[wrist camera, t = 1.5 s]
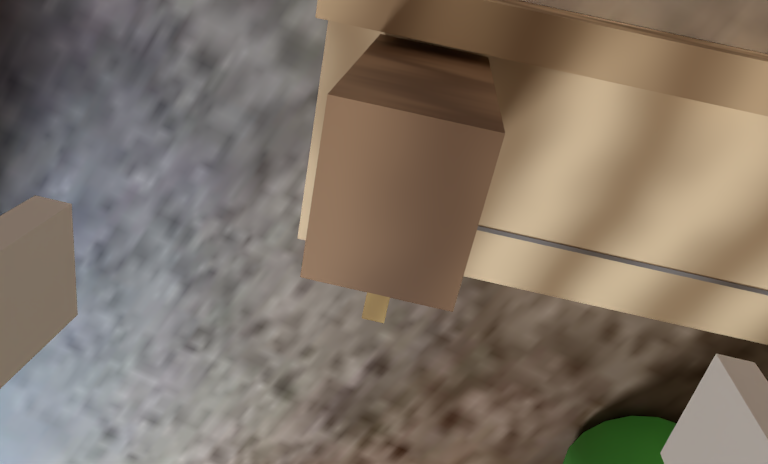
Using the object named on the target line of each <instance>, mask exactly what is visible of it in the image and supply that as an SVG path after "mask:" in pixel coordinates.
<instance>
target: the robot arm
mask: <svg viewBox="0 0 768 464" xmlns="http://www.w3.org/2000/svg"><path fill="white" fill-rule="evenodd" d="M77 315H78V314H77V296H76V277H75V259H74V240H73V222H72V204H70V203H65V202H61V201H57V200H53V199H48V198H44V197H40V196H33V197H32V198H30V199H28V200H27V201H25V202H23V203H22V204H20V205H18V206H16V207H15V208H13V209H11V210H10V211H8V212H6V213H4V214H3V215H1V216H0V388H1V387H2V386H4V385H5V384H6V383H7V382H8V381H9V380H10V379H11V378H12V377H13V376H14V375H15V374H16V373H17V372H18V371H19V370H20V369H21V368H22V367H23V366H24V365H25V364H27V363H28V362H29V361H30V360H31V359H32V358H33V357H34V356H35V355H36V354H37V353H38V352H39V351H40V350H41V349H42V348H43V347H44V346H45V345H46V344H47V343H48V342H50V341H51V340H52V339H53V338H54V337H55V336H56V335H57V334H58V333H59V332H60V331H61V330H62V329H63V328H64V327H65V326H66V325H67V324H68V323H69V322H70V321H71V320H73V319H74V318H75V317H76V316H77ZM660 454H661V457H662V459H663V462H664V464H768V381H767V380H766V378H765V377H764V375H763V374H762V372H761V371H760V369H759V368H758V366H757V365H756V363H755V362H751V361H746V360H742V359H738V358H733V357H729V356H725V355H720V354H715V356H714V358H713V360H712V362H711V363H710V365H709V367H708V369H707V370H706V372H705V374H704V376H703V378H702V379H701V381H700V383H699V385H698V386H697V388H696V390H695V392H694V394H693V395H692V397H691V399H690V401H689V403H688V404H687V406H686V408H685V410H684V411H683V413H682V415H681V417H680V419H679V420H678V422H677V424H676V426H675V427H674V429H673V431H672V433H671V435H670V436H669V438H668V440H667V442H666V444H665V445H664V447H663V449H662V451H661V452H660Z"/></svg>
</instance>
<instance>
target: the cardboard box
mask: <svg viewBox="0 0 768 464" xmlns="http://www.w3.org/2000/svg"><path fill="white" fill-rule="evenodd" d="M504 136H505V130H504V125H503V121H502V117H501V112H500V108H499V103H498V99H497V94H496V90H495V85H494V81H493V76H492V72H491V68H490V63H489V59H488V57H484V56H480V55H475V54H471V53H466V52H462V51H457V50H452V49H448V48H443V47H439V46H434V45H430V44H425V43H420V42H416V41H411V40H407V39H402V38H398V37H393V36H388V35H384V34H380V35H379V36H378V37H377V38H376V40H375V41H374V42H373V43H372V44H371V45H370V46H369V47H368V49H367V50H366V51H365V52H364V53H363V54H362V55H361V57H360V58H359V59H358V60H357V61H356V62H355V63H354V65H353V66H352V67H351V68H350V69H349V70H348V71H347V72H346V74H345V75H344V76H343V77H342V78H341V79H340V80H339V82H338V83H337V84H336V85H335V86H334V87H333V88H332V90H331V91H330V92H329V93H328V94H327V101H326V107H325V114H324V121H323V127H322V134H321V141H320V148H319V154H318V161H317V168H316V175H315V181H314V188H313V195H312V201H311V208H310V215H309V222H308V228H307V235H306V242H305V249H304V255H303V262H302V269H301V275H300V277H302V278H306V279H311V280H315V281H320V282H324V283H328V284H333V285H337V286H341V287H346V288H350V289H355V290H359V291H363V292H367V295H366V300H365V305H364V310H363V314H362V318H363V319H367V320H372V321H376V322H381V323H384V321H385V316H386V312H387V308H388V303H389V299H390V298H394V299H399V300H403V301H407V302H412V303H416V304H420V305H425V306H429V307H434V308H438V309H442V310H447V311H451V312H453V310H454V306H455V303H456V299H457V296H458V293H459V289H460V286H461V282H462V279H463V276H464V272H465V269H466V265H467V262H468V259H469V255H470V252H471V248H472V245H473V242H474V238H475V235H476V231H477V228H478V225H479V221H480V218H481V214H482V211H483V208H484V204H485V201H486V197H487V194H488V191H489V187H490V184H491V180H492V177H493V174H494V170H495V167H496V163H497V160H498V157H499V153H500V150H501V146H502V143H503V140H504Z"/></svg>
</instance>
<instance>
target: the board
mask: <svg viewBox="0 0 768 464" xmlns="http://www.w3.org/2000/svg"><path fill="white" fill-rule="evenodd" d="M316 18H320V19H325V20H328V27H327V34H326V41H325V48H324V55H323V62H322V69H321V77H320V84H319V91H318V98H317V105H316V112H315V119H314V126H313V133H312V140H311V147H310V154H309V161H308V169H307V176H306V183H305V190H304V197H303V204H302V211H301V218H300V225H299V232H298V239H302V240H306V235H307V228H308V222H309V215H310V208H311V201H312V195H313V188H314V181H315V175H316V168H317V161H318V154H319V148H320V141H321V134H322V127H323V121H324V114H325V107H326V101H327V94H328V93H329V92H330V91H331V90H332V88H333V87H334V86H335V85H336V84H337V83H338V82H339V80H340V79H341V78H342V77H343V76H344V75H345V74H346V72H347V71H348V70H349V69H350V68H351V67H352V66H353V65H354V63H355V62H356V61H357V60H358V59H359V58H360V57H361V55H362V54H363V53H364V52H365V51H366V50H367V49H368V47H369V46H370V45H371V44H372V43H373V42H374V41H375V40H376V38H377V37H378V36H379V35H380V34H384V35H388V36H393V37H398V38H402V39H407V40H411V41H416V42H420V43H425V44H430V45H434V46H439V47H443V48H448V49H452V50H457V51H462V52H466V53H471V54H475V55H480V56H484V57H488V59H489V63H490V68H491V72H492V76H493V81H494V85H495V90H496V94H497V99H498V103H499V108H500V112H501V117H502V121H503V125H504V130H505V136H504V140H503V143H502V146H501V150H500V153H499V157H498V160H497V163H496V167H495V170H494V174H493V177H492V180H491V184H490V187H489V191H488V194H487V197H486V201H485V204H484V208H483V211H482V214H481V218H480V221H479V225H478V228H477V231H476V235H475V238H474V242H473V245H472V248H471V252H470V255H469V259H468V262H467V265H466V269H465V272H464V276H465V277H470V278H474V279H479V280H483V281H488V282H492V283H496V284H501V285H505V286H510V287H514V288H518V289H523V290H527V291H532V292H536V293H541V294H545V295H549V296H554V297H558V298H563V299H567V300H571V301H576V302H580V303H585V304H589V305H594V306H598V307H602V308H607V309H611V310H616V311H620V312H624V313H629V314H633V315H638V316H642V317H646V318H651V319H655V320H660V321H664V322H669V323H673V324H677V325H682V326H686V327H691V328H695V329H699V330H704V331H708V332H713V333H717V334H722V335H726V336H730V337H735V338H739V339H744V340H748V341H752V342H757V343H761V344H766V345H768V54H764V53H760V52H755V51H750V50H746V49H741V48H737V47H732V46H727V45H723V44H718V43H713V42H709V41H704V40H700V39H695V38H690V37H686V36H681V35H676V34H672V33H667V32H663V31H658V30H653V29H649V28H644V27H640V26H635V25H630V24H626V23H621V22H616V21H612V20H607V19H603V18H598V17H593V16H589V15H584V14H580V13H575V12H570V11H566V10H561V9H556V8H552V7H547V6H543V5H538V4H533V3H529V2H524V1H519V0H318V2H317V10H316Z"/></svg>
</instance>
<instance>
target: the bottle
mask: <svg viewBox="0 0 768 464" xmlns="http://www.w3.org/2000/svg"><path fill="white" fill-rule="evenodd" d="M676 424H677V423H674V422H671V421H668V420H665V419H662V418H659V417H645V416H628V417H623V418H618V419H613V420H609V421H605V422H603V423H601V424H599V425H597V426H595V427H593V428H591V429H589V430H587V431H585V432H584V433H583V434H582V435H581V436H580V437H579V438H578V439H577V440H576V441H575V442H574V443H573V444H572V445H571V446H570V447H569V449H568V451H567V454H566V457H565V459H564V462H563V464H664V462H663V459H662V457H661V454H660V452H661V451H662V449H663V447H664V445H665V444H666V442H667V440H668V438H669V436H670V435H671V433H672V431H673V429H674V427H675V426H676Z"/></svg>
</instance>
